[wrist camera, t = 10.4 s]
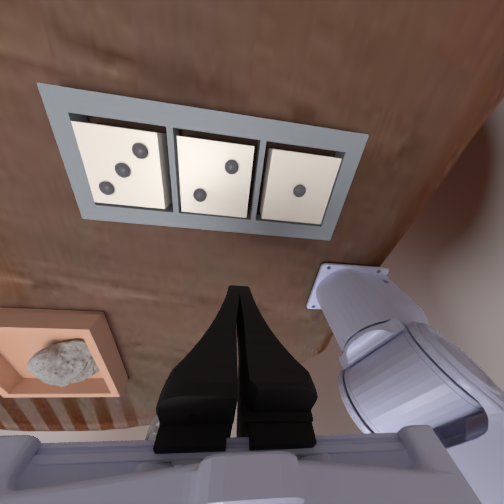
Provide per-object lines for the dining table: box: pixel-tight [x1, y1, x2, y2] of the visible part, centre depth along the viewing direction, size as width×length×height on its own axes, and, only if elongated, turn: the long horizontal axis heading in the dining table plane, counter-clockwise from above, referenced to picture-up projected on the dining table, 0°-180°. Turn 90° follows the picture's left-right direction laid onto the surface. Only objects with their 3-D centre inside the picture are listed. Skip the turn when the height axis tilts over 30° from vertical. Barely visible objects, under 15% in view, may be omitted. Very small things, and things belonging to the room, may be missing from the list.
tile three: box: [71, 121, 173, 209], centre depth 17 cm, size 6×6×3 cm
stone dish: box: [0, 307, 129, 398], centre depth 29 cm, size 18×18×3 cm
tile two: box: [177, 136, 255, 218], centre depth 17 cm, size 6×6×3 cm
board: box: [37, 83, 369, 241], centre depth 18 cm, size 25×10×2 cm, turn 83°
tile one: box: [259, 148, 342, 224], centre depth 18 cm, size 6×6×3 cm
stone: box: [27, 340, 100, 387], centre depth 30 cm, size 10×5×10 cm
